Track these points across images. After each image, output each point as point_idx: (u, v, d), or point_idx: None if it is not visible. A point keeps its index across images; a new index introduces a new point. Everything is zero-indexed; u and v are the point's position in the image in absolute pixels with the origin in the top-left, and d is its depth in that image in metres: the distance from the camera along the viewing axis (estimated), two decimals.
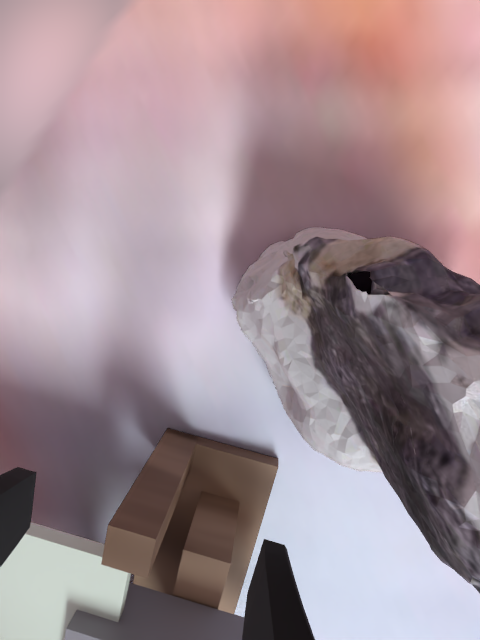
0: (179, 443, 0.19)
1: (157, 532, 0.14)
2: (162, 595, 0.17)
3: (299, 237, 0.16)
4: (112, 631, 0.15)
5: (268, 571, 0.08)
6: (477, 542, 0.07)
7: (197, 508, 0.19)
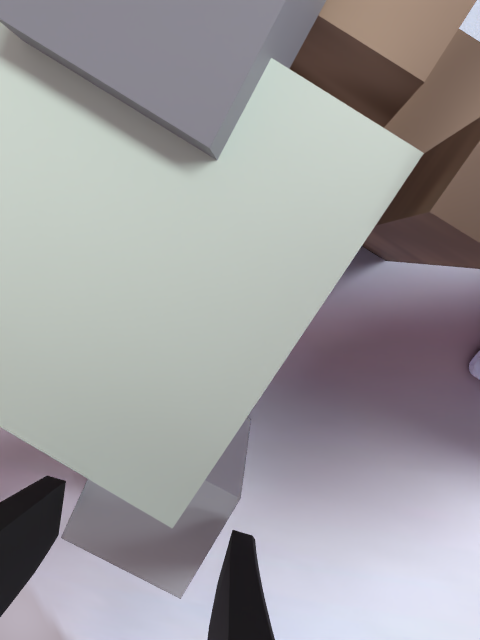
0: None
1: None
2: None
3: None
4: None
5: (232, 560, 0.08)
6: None
7: None
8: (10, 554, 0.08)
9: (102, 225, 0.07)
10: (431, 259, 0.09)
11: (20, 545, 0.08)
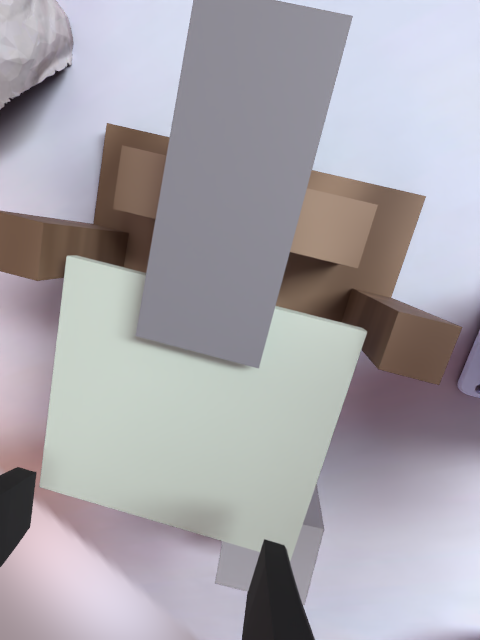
0: None
1: None
2: None
3: None
4: None
5: (268, 571, 0.08)
6: None
7: None
8: None
9: (206, 406, 0.13)
10: None
11: None
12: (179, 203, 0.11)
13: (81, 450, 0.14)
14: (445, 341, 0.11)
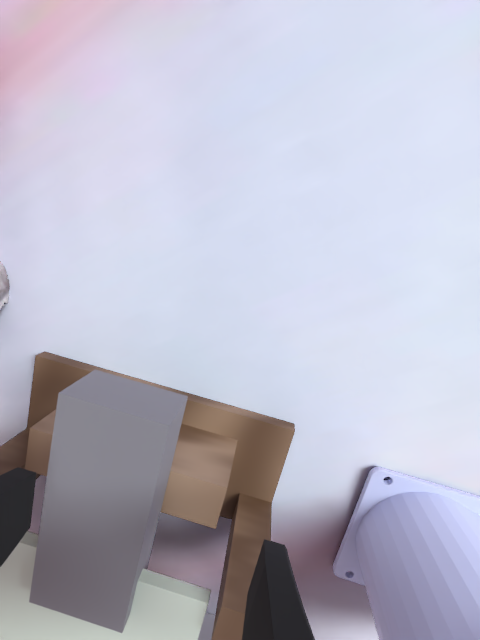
0: None
1: None
2: None
3: None
4: None
5: (268, 571, 0.08)
6: None
7: None
8: None
9: None
10: None
11: None
12: (55, 522, 0.14)
13: None
14: None
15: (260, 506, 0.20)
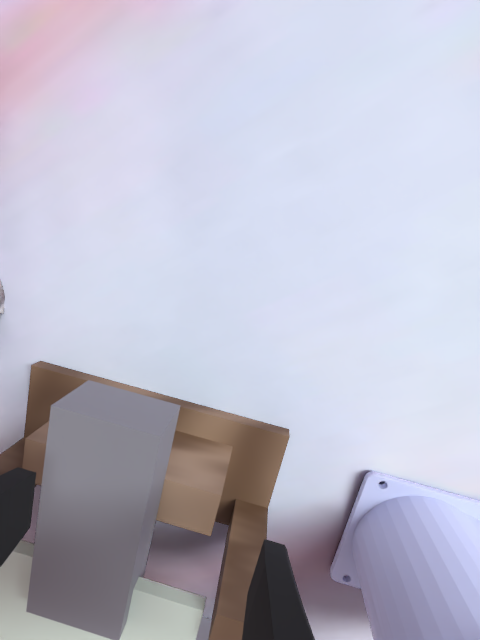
0: None
1: None
2: None
3: None
4: None
5: (268, 571, 0.08)
6: None
7: None
8: None
9: None
10: None
11: None
12: (50, 533, 0.14)
13: None
14: None
15: (256, 512, 0.20)
